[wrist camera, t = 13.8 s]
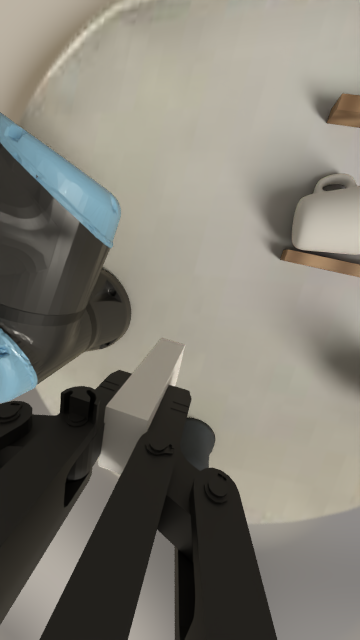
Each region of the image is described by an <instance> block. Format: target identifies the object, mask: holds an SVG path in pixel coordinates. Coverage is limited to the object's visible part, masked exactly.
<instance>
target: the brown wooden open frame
mask: <svg viewBox="0 0 360 640" xmlns="http://www.w3.org/2000/svg"><path fill="white" fill-rule="evenodd" d="M327 123H330V124H337V125H344V126H351V127H359V128H360V96H359V95H350V94H342V95H341V96H340V98H339V99H338V100H337V102H336V103H335V105H334V106H333V108H332V109H331V112H330V115H329V118H328V121H327ZM280 260H283V261H288V262H293V263H297V264H302V265H306V266H311V267H315V268H320V269H324V270H329V271H333V272H338V273H343V274H347V275H352V276H356V277H360V265H359V264H354V263H349V262H345V261H340V260H335V259H331V258H326V257H321V256H317V255H312V254H307V253H303V252H298V251H293V250H283V253H282V256H281V259H280Z"/></svg>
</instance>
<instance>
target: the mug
mask: <svg viewBox="0 0 360 640" xmlns="http://www.w3.org/2000/svg"><path fill="white" fill-rule="evenodd" d="M214 443H215V434H214V432H213V431H212V429H211V428H210V427H209V426H208V425H207V424H206V423H204V422H203V421H201V420H198V419H194V418H186V422H185V425H184V429H183V433H182V437H181V441H180V447H181V451H182V453H183V456H184V457H185V458H186V460H187V461H188V462H189V463H190V464H192V465H193V466H194V467H196V468H197V469H198V470H200V471H201V470H203V469H205V468H209V454H210V453H211V452H212V449H213V447H214Z"/></svg>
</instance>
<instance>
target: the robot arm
mask: <svg viewBox="0 0 360 640" xmlns="http://www.w3.org/2000/svg"><path fill="white" fill-rule="evenodd" d="M120 217H121V208H120V205H119V202H118V200H117V199H116V198H115V196H114V195H113V194H112V193H110V192H109V191H108V190H107V189H105V188H104V187H103V186H101V185H100V184H99V183H97V182H96V181H95V180H93V179H92V178H90V177H89V176H88V175H86V174H85V173H84V172H82V171H81V170H80V169H78V168H77V167H75V166H74V165H73V164H71V163H70V162H69V161H67V160H66V159H65V158H63V157H62V156H60V155H59V154H58V153H56V152H55V151H53V150H52V149H51V148H49V147H48V146H46V145H45V144H44V143H42V142H41V141H39V140H38V139H37V138H35V137H34V136H32V135H31V134H29V133H28V132H27V131H25V130H24V129H22V128H21V127H20V126H18V125H17V124H15V123H14V122H13V121H11V120H10V119H9V118H7V117H6V116H4V115H3V114H2V113H0V403H2V404H0V624H1V623H2V621H3V620H4V618H5V616H6V615H7V613H8V611H9V609H10V608H11V607H12V605H13V603H14V602H15V600H16V598H17V597H18V595H19V594H20V592H21V590H22V589H23V587H24V585H25V584H26V582H27V580H28V579H29V577H30V576H31V574H32V572H33V571H34V569H35V567H36V566H37V564H38V563H39V561H40V559H41V558H42V556H43V555H44V553H45V551H46V550H47V548H48V546H49V545H50V543H51V541H52V540H53V538H54V537H55V535H56V533H57V532H58V530H59V529H60V527H61V525H62V524H63V522H64V520H65V519H66V517H67V516H68V514H69V512H70V511H71V509H72V507H73V506H74V504H75V502H76V501H77V499H78V498H79V496H80V494H81V492H82V491H83V490H84V488H85V486H86V485H87V483H88V481H89V479H90V477H91V473H92V467H93V465H94V464H95V462H96V460H97V459H98V457H99V463H98V466H99V467H102V468H105V469H107V470H110V471H113V472H115V473H118V474H121V476H120V478H119V480H118V482H117V484H116V486H115V488H114V490H113V492H112V494H111V496H110V498H109V500H108V502H107V504H106V506H105V508H104V510H103V512H102V514H101V516H100V519H99V520H98V522H97V524H96V526H95V529H94V530H93V532H92V535H91V537H90V539H89V541H88V543H87V545H86V547H85V549H84V551H83V553H82V555H81V557H80V559H79V561H78V563H77V565H76V567H75V569H74V571H73V573H72V575H71V577H70V579H69V581H68V583H67V585H66V587H65V589H64V591H63V593H62V595H61V597H60V599H59V602H58V603H57V605H56V607H55V609H54V612H53V613H52V615H51V617H50V619H49V622H48V624H47V626H46V628H45V630H44V632H43V634H42V636H41V638H40V640H128V636H129V633H130V628H131V625H132V621H133V618H134V614H135V610H136V606H137V602H138V598H139V595H140V591H141V587H142V584H143V580H144V576H145V572H146V569H147V565H148V561H149V557H150V554H151V549H152V546H153V542H154V539H155V535H156V531H157V529H158V530H159V532H161V533H162V534H163V535H164V536H165V537H166V538H167V539H168V540H169V541H170V542H171V543H172V544H173V545H174V546H175V640H277V637H276V633H275V629H274V625H273V621H272V618H271V614H270V610H269V606H268V602H267V598H266V594H265V591H264V587H263V583H262V579H261V575H260V572H259V568H258V564H257V560H256V556H255V552H254V548H253V544H252V541H251V537H250V533H249V529H248V525H247V521H246V517H245V514H244V510H243V506H242V502H241V498H240V494H239V491H238V489H237V487H236V484H235V483H234V482H233V480H232V479H231V478H230V477H229V476H228V475H227V474H225V473H224V472H223V471H221V470H218V469H215V468H205V469H203V470H201V471H200V470H198V469H197V468H196V467H194V466H193V465H192V464H190V463H189V462H188V461H187V460H186V458H185V457H184V456H183V453H182V451H181V447H180V441H181V437H182V433H183V429H184V425H185V422H186V418H187V414H188V410H189V406H190V403H191V396H190V392H189V391H188V390H185V389H182V388H178V387H175V384H176V381H177V377H178V373H179V369H180V364H181V360H182V356H183V352H184V348H185V344H182V343H178V342H175V341H171V340H168V339H164V338H161V339H160V340H159V341H158V343H157V344H156V345H155V346H154V347H153V349H152V350H151V351H150V352H149V354H148V355H147V356H146V357H145V359H144V360H143V361H142V362H141V364H140V365H139V366H138V367H137V368H136V370H135V371H134V372H133V373H132V374H131V373H128V372H124V371H121V370H118V371H116V372H114V373H112V374H110V375H109V376H108V377H107V378H106V379H105V380H104V381H103V382H102V383H101V384H100V385H99V387H97V388H96V389H95V390H94V389H93V388H90V387H85V386H78V387H72V388H69V389H66V390H65V391H63V392H61V404H60V413H59V414H58V415H55V416H48V415H32V407H31V406H30V405H29V404H27V403H25V402H22V401H11V402H8V401H10V400H12V399H14V398H16V397H18V396H19V395H21V394H23V393H25V392H27V391H30V390H31V389H33V388H35V387H36V385H37V384H39V383H40V382H41V381H43V380H44V379H46V378H47V377H49V376H50V375H52V374H53V373H54V372H56V371H57V370H59V369H60V368H62V367H63V366H65V365H66V364H67V363H69V362H70V361H72V360H73V359H75V358H76V357H78V356H79V355H80V354H82V353H83V352H86V351H92V350H98V349H103V348H106V347H108V346H110V345H112V344H114V343H115V342H116V341H118V340H119V339H120V338H121V337H122V336H123V335H124V334H125V332H126V331H127V329H128V327H129V324H130V320H131V306H130V301H129V298H128V295H127V293H126V291H125V289H124V288H123V286H122V285H121V284H120V282H119V281H118V280H117V279H116V278H115V277H114V276H112V275H111V274H109V273H108V272H106V271H104V270H102V266H103V264H104V262H105V259H106V257H107V255H108V252H109V250H110V248H112V247H113V239H114V235H115V232H116V229H117V226H118V223H119V220H120ZM4 402H5V403H4Z"/></svg>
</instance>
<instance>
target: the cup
mask: <svg viewBox="0 0 360 640" xmlns="http://www.w3.org/2000/svg"><path fill="white" fill-rule="evenodd" d="M331 184H340V185H343V186H344V187H345V189H339V190H332V191H324V190H323V189H322V188H323V187H324V186H327V185H331ZM292 243H293V245H294V247H296V248H297V249H301V250H308V251H319V252H330V253H341V254H352V255H356V254H360V186H357V185H356V182H355V180H354V178H353V177H352V176H350V175H348V174H333V175H329V176H326V177H324V178H322V179H321V180H320V181H319V182H318V183H317V184H316V186H315V189H314V194H310V195H307V196H305V197H303V198H302V199H301V200H300V201H299V202H298V204H297V207H296V210H295V214H294V219H293V226H292Z"/></svg>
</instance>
